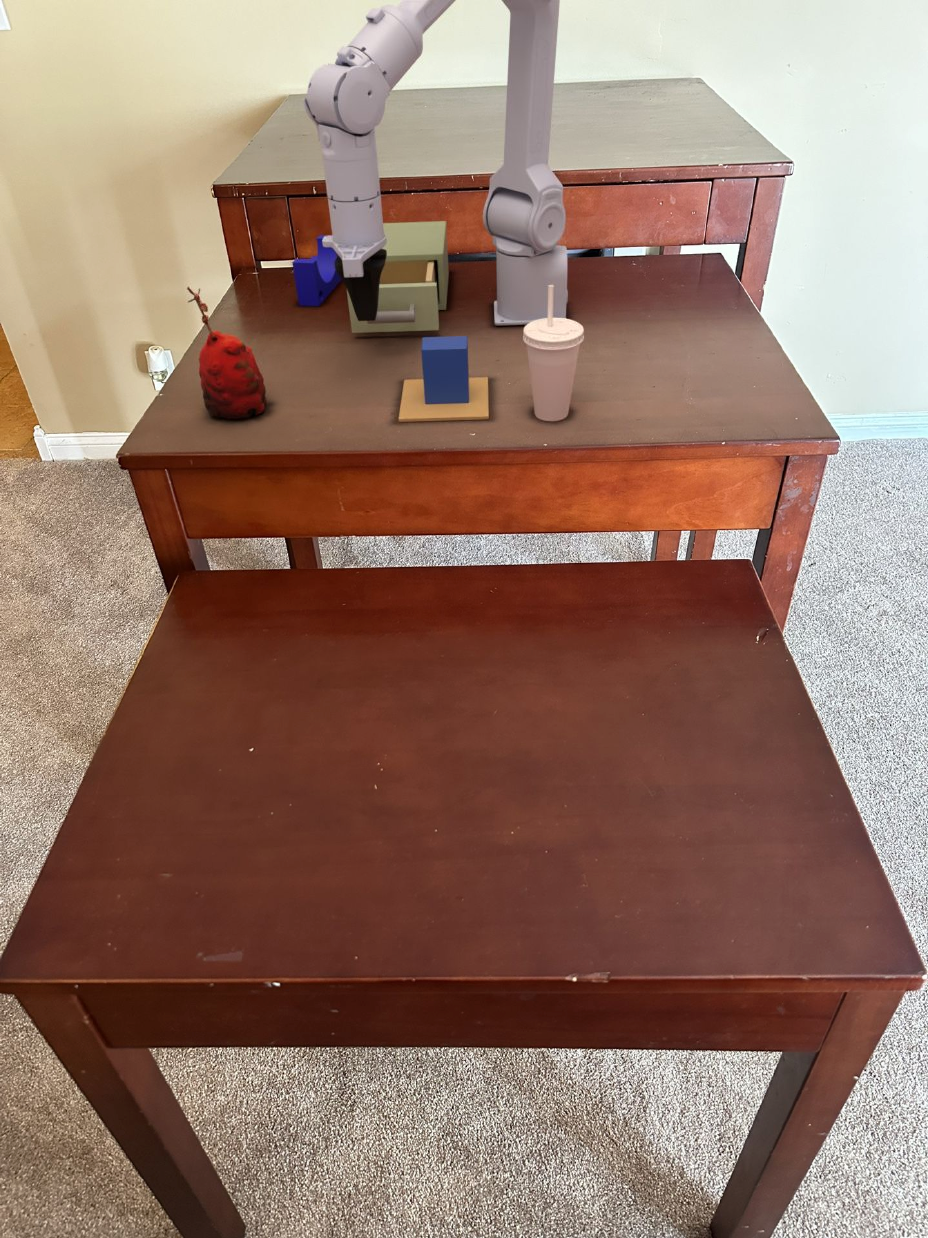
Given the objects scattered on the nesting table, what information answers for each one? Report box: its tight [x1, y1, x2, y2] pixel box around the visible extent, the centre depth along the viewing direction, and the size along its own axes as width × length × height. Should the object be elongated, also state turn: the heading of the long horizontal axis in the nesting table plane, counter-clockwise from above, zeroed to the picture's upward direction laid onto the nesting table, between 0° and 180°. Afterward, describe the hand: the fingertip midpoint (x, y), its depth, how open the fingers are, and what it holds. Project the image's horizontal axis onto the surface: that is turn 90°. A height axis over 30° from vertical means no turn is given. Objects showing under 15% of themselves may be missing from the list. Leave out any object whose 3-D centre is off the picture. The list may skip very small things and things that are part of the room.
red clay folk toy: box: [186, 286, 267, 420], centre depth 98 cm, size 8×7×15 cm
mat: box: [398, 376, 490, 423], centre depth 103 cm, size 10×10×1 cm
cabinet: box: [381, 220, 450, 311], centre depth 128 cm, size 15×13×8 cm
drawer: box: [346, 260, 440, 334], centre depth 119 cm, size 18×11×6 cm, turn 179°
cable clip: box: [291, 234, 342, 307], centre depth 130 cm, size 12×4×6 cm, turn 169°
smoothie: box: [522, 285, 585, 422], centre depth 95 cm, size 6×6×14 cm
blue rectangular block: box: [420, 335, 470, 404], centre depth 101 cm, size 5×3×6 cm
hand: (367, 318), depth 105 cm, fingers closed
